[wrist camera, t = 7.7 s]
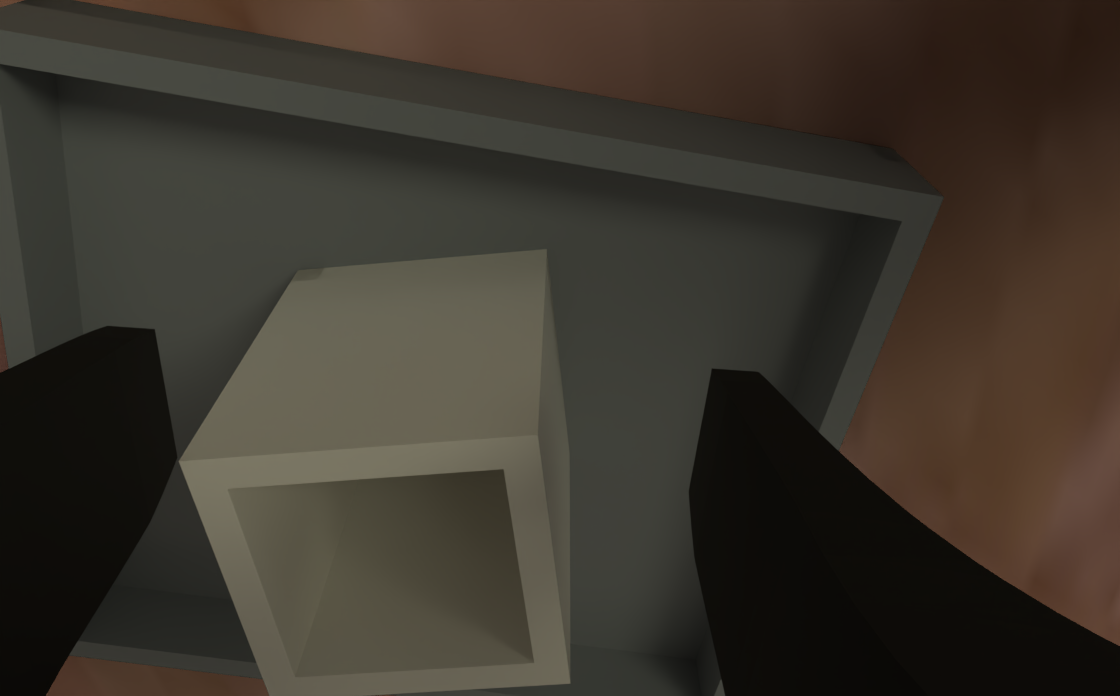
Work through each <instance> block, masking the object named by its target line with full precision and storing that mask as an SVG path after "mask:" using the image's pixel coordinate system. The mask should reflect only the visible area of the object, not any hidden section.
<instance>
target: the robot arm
mask: <svg viewBox="0 0 1120 696" xmlns="http://www.w3.org/2000/svg"><path fill="white" fill-rule="evenodd" d="M177 458H178V457H177V451H176V446H175V440H174V434H173V429H172V423H171V417H170V412H169V406H168V401H167V395H166V389H165V384H164V378H163V372H162V367H161V361H160V355H159V350H158V344H157V339H156V333H155V329H147V328H133V327H119V326H105V327H102V328H99V329H96V330H93V331H91V332H88V333H86V334H83V335H81V336H78V337H76V338H74V339H72V340H69V341H67V342H65V343H63V344H60V345H58V346H56V347H54V348H52V349H50V350H48V351H45V352H43V353H41V354H39V355H37V356H35V357H33V358H31V359H29V360H27V361H24V362H22V363H20V364H18V365H16V366H14V367H12V368H10V369H8V370H6V371H3V372H1V373H0V696H46V694H47V693H48V691H49V689H50V687H51V685H52V684H53V682H54V680H55V678H56V676H57V675H58V673H59V671H60V669H61V667H62V666H63V664H64V663H65V661H66V659H67V658H68V656H69V655H70V653H71V651H72V650H73V648H74V646H75V645H76V643H77V642H78V640H79V638H80V637H81V635H82V633H83V632H84V630H85V629H86V627H87V625H88V624H89V622H90V621H91V619H92V617H93V616H94V614H95V612H96V611H97V609H98V608H99V606H100V604H101V603H102V601H103V600H104V598H105V596H106V595H107V593H108V591H109V590H110V588H111V587H112V585H113V583H114V582H115V580H116V579H117V577H118V575H119V574H120V572H121V570H122V569H123V567H124V565H125V564H126V562H127V560H128V559H129V557H130V555H131V554H132V552H133V551H134V549H135V547H136V546H137V544H138V542H139V541H140V539H141V537H142V535H143V534H144V532H145V530H146V529H147V527H148V525H149V524H150V522H151V519H152V517H153V515H154V513H155V510H156V508H157V506H158V504H159V502H160V499H161V497H162V495H163V492H164V490H165V487H166V485H167V483H168V480H169V478H170V475H171V473H172V470H173V468H174V465H175V463H176V460H177ZM689 504H690V517H691V529H692V539H693V550H694V559H695V563H696V568H697V573H698V577H699V582H700V586H701V591H702V596H703V600H704V605H705V609H706V614H707V618H708V622H709V627H710V631H711V635H712V640H713V644H714V649H715V653H716V657H717V662H718V666H719V671H720V675H721V679H722V684H723V688H724V693H725V696H1120V646H1118V645H1116V644H1114V643H1112V642H1110V641H1108V640H1106V639H1104V638H1102V637H1100V636H1099V635H1097V634H1095V633H1093V632H1091V631H1089V630H1088V629H1086V628H1084V627H1082V626H1080V625H1079V624H1077V623H1075V622H1073V621H1071V620H1070V619H1068V618H1066V617H1064V616H1062V615H1061V614H1059V613H1057V612H1055V611H1054V610H1052V609H1050V608H1049V607H1047V606H1046V605H1044V604H1042V603H1041V602H1039V601H1037V600H1036V599H1034V598H1032V597H1031V596H1029V595H1027V594H1026V593H1024V592H1022V591H1021V590H1019V589H1018V588H1016V587H1014V586H1013V585H1011V584H1009V583H1008V582H1006V581H1004V580H1003V579H1001V578H1000V577H998V576H997V575H995V574H994V573H992V572H991V571H989V570H988V569H986V568H984V567H983V566H981V565H980V564H978V563H977V562H975V561H974V560H972V559H971V558H970V557H968V556H967V555H965V554H964V553H963V552H961V551H960V550H959V549H957V548H956V547H954V546H953V545H952V544H950V543H949V542H947V541H946V540H945V539H943V538H942V537H940V536H939V535H938V534H936V533H935V532H933V531H932V530H931V529H929V528H928V527H927V526H925V525H924V524H923V523H922V522H920V521H919V520H918V519H916V518H915V517H914V516H912V515H911V514H910V513H909V512H907V511H906V510H905V509H904V508H903V507H901V506H900V505H899V504H898V503H897V502H895V501H894V500H893V499H892V498H891V497H890V496H888V495H887V494H886V493H885V492H884V491H882V490H881V489H880V488H879V487H878V486H877V485H875V484H874V483H873V482H872V481H871V480H869V479H868V478H867V477H866V476H865V475H864V474H863V473H862V472H861V471H860V470H858V469H857V468H856V467H855V466H854V465H853V464H852V463H851V462H850V461H849V460H847V459H846V458H845V457H844V456H843V455H842V454H841V453H840V452H839V451H838V450H837V449H836V448H835V447H834V446H833V445H832V444H831V443H830V442H829V441H828V440H827V439H825V438H824V437H823V436H822V435H821V434H820V433H819V432H818V431H817V430H816V429H815V428H814V427H813V426H812V425H811V424H810V423H809V422H808V421H807V420H806V419H805V418H804V417H803V416H802V415H801V414H800V413H799V412H798V410H797V409H796V408H795V407H794V406H793V405H792V404H791V403H790V402H789V401H788V400H787V399H786V398H785V397H784V396H783V395H782V394H781V393H780V392H779V391H778V390H777V389H776V388H775V387H774V386H773V385H772V384H771V383H770V382H769V381H768V380H767V379H766V378H765V377H764V376H762V375H761V374H760V373H759V372H755V371H741V370H727V369H713V368H712V370H711V376H710V381H709V386H708V391H707V397H706V402H705V407H704V412H703V418H702V423H701V428H700V434H699V439H698V444H697V449H696V455H695V460H694V465H693V470H692V476H691V481H690V486H689Z"/></svg>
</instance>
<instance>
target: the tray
mask: <svg viewBox="0 0 1120 696" xmlns="http://www.w3.org/2000/svg"><path fill="white" fill-rule="evenodd" d="M943 198H944V197H943V196H942V195H941V194H940V193H939V192H938V191H937V190H936V189H935V188H934V187H933V186H932V185H931V184H930V183H929V182H928V181H927V180H925V179H924V178H923V177H922V176H921V175H920V174H919V173H918V172H917V171H916V170H915V169H914V168H913V167H912V166H911V165H910V164H909V163H908V162H907V161H905V160H904V159H903V158H902V157H901V156H900V155H899V154H898V153H897V152H896V151H895V150H894V149H891V148H886V147H880V146H875V145H869V144H864V143H858V142H853V141H847V140H842V139H836V138H831V137H825V136H820V135H814V134H809V133H803V132H797V131H792V130H786V129H781V128H775V127H770V126H764V125H759V124H753V123H748V122H742V121H737V120H731V119H726V118H720V117H715V116H709V115H704V114H698V113H693V112H687V111H682V110H676V109H670V108H665V107H659V106H654V105H648V104H643V103H637V102H632V101H626V100H621V99H615V98H610V97H604V96H599V95H593V94H588V93H582V92H577V91H571V90H566V89H560V88H555V87H549V86H544V85H538V84H532V83H527V82H521V81H516V80H510V79H505V78H499V77H494V76H488V75H483V74H477V73H472V72H466V71H461V70H455V69H450V68H444V67H439V66H433V65H428V64H422V63H417V62H411V61H406V60H400V59H394V58H389V57H383V56H378V55H372V54H367V53H361V52H356V51H350V50H345V49H339V48H334V47H328V46H323V45H317V44H312V43H306V42H301V41H295V40H290V39H284V38H279V37H273V36H267V35H262V34H256V33H251V32H245V31H240V30H234V29H229V28H223V27H218V26H212V25H207V24H201V23H196V22H190V21H185V20H179V19H174V18H168V17H163V16H157V15H152V14H146V13H141V12H135V11H129V10H124V9H118V8H113V7H107V6H102V5H96V4H91V3H85V2H80V1H74V0H24V1H21V2H17V3H14V4H11V5H7V6H4V7H1V8H0V317H1V323H2V329H3V336H4V342H5V348H6V354H7V361H8V367H9V369H10V368H12V367H14V366H16V365H18V364H20V363H22V362H24V361H27V360H29V359H31V358H33V357H35V356H37V355H39V354H41V353H43V352H45V351H48V350H50V349H52V348H54V347H56V346H58V345H60V344H63V343H65V342H67V341H69V340H72V339H74V338H76V337H78V336H81V335H83V334H86V333H88V332H91V331H93V330H96V329H99V328H102V327H105V326H119V327H133V328H147V329H155V333H156V339H157V344H158V350H159V355H160V361H161V367H162V372H163V378H164V384H165V389H166V395H167V401H168V406H169V412H170V417H171V423H172V429H173V434H174V440H175V446H176V451H177V457H178V458H177V460H176V463H175V465H174V468H173V470H172V473H171V475H170V478H169V480H168V483H167V485H166V487H165V490H164V492H163V495H162V497H161V499H160V502H159V504H158V506H157V508H156V510H155V513H154V515H153V517H152V519H151V522H150V524H149V525H148V527H147V529H146V530H145V532H144V534H143V535H142V537H141V539H140V541H139V542H138V544H137V546H136V547H135V549H134V551H133V552H132V554H131V555H130V557H129V559H128V560H127V562H126V564H125V565H124V567H123V569H122V570H121V572H120V574H119V575H118V577H117V579H116V580H115V582H114V583H113V585H112V587H111V588H110V590H109V591H108V593H107V595H106V596H105V598H104V600H103V601H102V603H101V604H100V606H99V608H98V609H97V611H96V612H95V614H94V616H93V617H92V619H91V621H90V622H89V624H88V625H87V627H86V629H85V630H84V632H83V633H82V635H81V637H80V638H79V640H78V642H77V643H76V645H75V646H74V648H73V650H72V651H71V653H70V656H78V657H86V658H94V659H103V660H111V661H119V662H127V663H135V664H143V665H152V666H160V667H168V668H176V669H184V670H192V671H201V672H209V673H217V674H225V675H233V676H241V677H249V678H258V679H263V678H262V675H261V673H260V670H259V668H258V665H257V663H256V660H255V657H254V655H253V652H252V650H251V647H250V644H249V642H248V639H247V637H246V634H245V631H244V629H243V626H242V624H241V621H240V619H239V616H238V613H237V611H236V608H235V606H234V603H233V600H232V598H231V595H230V593H229V590H228V588H227V585H226V582H225V580H224V577H223V575H222V572H221V569H220V567H219V564H218V562H217V559H216V557H215V554H214V551H213V549H212V546H211V544H210V541H209V538H208V536H207V533H206V531H205V528H204V526H203V523H202V520H201V518H200V515H199V513H198V510H197V507H196V505H195V502H194V500H193V497H192V494H191V492H190V489H189V487H188V484H187V482H186V479H185V476H184V474H183V471H182V469H181V466H180V463H179V460H180V458H181V457H182V455H183V454H184V452H185V450H186V449H187V447H188V446H189V444H190V442H191V441H192V439H193V438H194V436H195V434H196V433H197V431H198V430H199V428H200V426H201V425H202V423H203V421H204V420H205V418H206V417H207V415H208V413H209V412H210V410H211V409H212V407H213V405H214V404H215V402H216V401H217V399H218V397H219V396H220V394H221V393H222V391H223V389H224V388H225V386H226V385H227V383H228V381H229V380H230V378H231V377H232V375H233V373H234V372H235V370H236V369H237V367H238V365H239V364H240V362H241V361H242V359H243V357H244V356H245V354H246V353H247V351H248V349H249V348H250V346H251V345H252V343H253V341H254V340H255V338H256V337H257V335H258V333H259V332H260V330H261V329H262V327H263V325H264V324H265V322H266V321H267V319H268V317H269V316H270V314H271V313H272V311H273V309H274V308H275V306H276V305H277V303H278V301H279V300H280V298H281V297H282V295H283V293H284V292H285V290H286V288H287V287H288V285H289V284H290V282H291V280H292V279H293V277H294V276H295V274H296V272H297V271H298V270H306V269H318V268H329V267H341V266H353V265H365V264H377V263H388V262H400V261H412V260H424V259H436V258H447V257H459V256H471V255H483V254H495V253H507V252H518V251H530V250H542V249H547V254H548V263H549V272H550V281H551V290H552V299H553V308H554V317H555V326H556V335H557V344H558V354H559V363H560V372H561V381H562V390H563V399H564V408H565V417H566V426H567V435H568V444H569V453H570V684H557V685H539V686H522V687H505V688H488V689H471V690H454V691H436V692H419V693H402V694H388V695H396V696H725V693H724V688H723V684H722V679H721V675H720V671H719V666H718V662H717V657H716V653H715V649H714V644H713V640H712V635H711V631H710V627H709V622H708V618H707V614H706V609H705V605H704V600H703V596H702V591H701V586H700V582H699V577H698V573H697V568H696V563H695V559H694V550H693V539H692V529H691V517H690V504H689V486H690V481H691V476H692V470H693V465H694V460H695V455H696V449H697V444H698V439H699V434H700V428H701V423H702V418H703V412H704V407H705V402H706V397H707V391H708V386H709V381H710V376H711V370H712V368H713V369H727V370H741V371H755V372H759V373H760V374H761V375H762V376H764V377H765V378H766V379H767V380H768V381H769V382H770V383H771V384H772V385H773V386H774V387H775V388H776V389H777V390H778V391H779V392H780V393H781V394H782V395H783V396H784V397H785V398H786V399H787V400H788V401H789V402H790V403H791V404H792V405H793V406H794V407H795V408H796V409H797V410H798V412H799V413H800V414H801V415H802V416H803V417H804V418H805V419H806V420H807V421H808V422H809V423H810V424H811V425H812V426H813V427H814V428H815V429H816V430H817V431H818V432H819V433H820V434H821V435H822V436H823V437H824V438H825V439H827V440H828V441H829V442H830V443H831V444H832V445H833V446H834V447H835V448H836V449H837V450H838V451H839V449H840V446H841V444H842V442H843V439H844V437H845V434H846V432H847V430H848V427H849V425H850V422H851V420H852V417H853V415H854V413H855V410H856V408H857V405H858V403H859V401H860V398H861V396H862V393H863V391H864V389H865V386H866V384H867V381H868V379H869V377H870V374H871V372H872V369H873V367H874V364H875V362H876V360H877V357H878V355H879V352H880V350H881V348H882V345H883V343H884V340H885V338H886V336H887V333H888V331H889V328H890V326H891V324H892V321H893V319H894V316H895V314H896V312H897V309H898V307H899V304H900V302H901V299H902V297H903V295H904V292H905V290H906V287H907V285H908V283H909V280H910V278H911V275H912V273H913V271H914V268H915V266H916V263H917V261H918V259H919V256H920V254H921V251H922V249H923V246H924V244H925V242H926V239H927V237H928V234H929V232H930V230H931V227H932V225H933V222H934V220H935V218H936V215H937V213H938V210H939V208H940V206H941V203H942V201H943Z"/></svg>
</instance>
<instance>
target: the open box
mask: <svg viewBox="0 0 1120 696" xmlns="http://www.w3.org/2000/svg"><path fill="white" fill-rule="evenodd" d="M179 463H180V466H181V469H182V471H183V474H184V476H185V479H186V482H187V484H188V487H189V489H190V492H191V494H192V497H193V500H194V502H195V505H196V507H197V510H198V513H199V515H200V518H201V520H202V523H203V526H204V528H205V531H206V533H207V536H208V538H209V541H210V544H211V546H212V549H213V551H214V554H215V557H216V559H217V562H218V564H219V567H220V569H221V572H222V575H223V577H224V580H225V582H226V585H227V588H228V590H229V593H230V595H231V598H232V600H233V603H234V606H235V608H236V611H237V613H238V616H239V619H240V621H241V624H242V626H243V629H244V631H245V634H246V637H247V639H248V642H249V644H250V647H251V650H252V652H253V655H254V657H255V660H256V663H257V665H258V668H259V670H260V673H261V675H262V678H263V681H264V683H265V686H266V688H267V691H268V694H269V696H368V695H385V694H402V693H419V692H436V691H454V690H471V689H488V688H505V687H522V686H539V685H557V684H570V453H569V444H568V435H567V426H566V417H565V408H564V399H563V390H562V381H561V372H560V363H559V354H558V344H557V335H556V326H555V317H554V308H553V299H552V290H551V281H550V272H549V263H548V254H547V249H542V250H530V251H518V252H507V253H495V254H483V255H471V256H459V257H447V258H436V259H424V260H412V261H400V262H388V263H377V264H365V265H353V266H341V267H329V268H318V269H306V270H298V271H297V272H296V274H295V276H294V277H293V279H292V280H291V282H290V284H289V285H288V287H287V288H286V290H285V292H284V293H283V295H282V297H281V298H280V300H279V301H278V303H277V305H276V306H275V308H274V309H273V311H272V313H271V314H270V316H269V317H268V319H267V321H266V322H265V324H264V325H263V327H262V329H261V330H260V332H259V333H258V335H257V337H256V338H255V340H254V341H253V343H252V345H251V346H250V348H249V349H248V351H247V353H246V354H245V356H244V357H243V359H242V361H241V362H240V364H239V365H238V367H237V369H236V370H235V372H234V373H233V375H232V377H231V378H230V380H229V381H228V383H227V385H226V386H225V388H224V389H223V391H222V393H221V394H220V396H219V397H218V399H217V401H216V402H215V404H214V405H213V407H212V409H211V410H210V412H209V413H208V415H207V417H206V418H205V420H204V421H203V423H202V425H201V426H200V428H199V430H198V431H197V433H196V434H195V436H194V438H193V439H192V441H191V442H190V444H189V446H188V447H187V449H186V450H185V452H184V454H183V455H182V457H181V458H180V460H179Z"/></svg>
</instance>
